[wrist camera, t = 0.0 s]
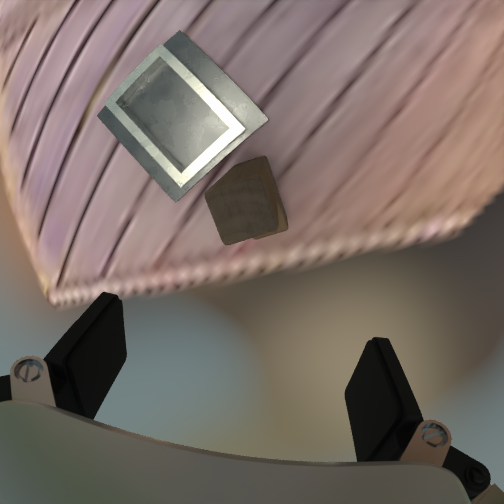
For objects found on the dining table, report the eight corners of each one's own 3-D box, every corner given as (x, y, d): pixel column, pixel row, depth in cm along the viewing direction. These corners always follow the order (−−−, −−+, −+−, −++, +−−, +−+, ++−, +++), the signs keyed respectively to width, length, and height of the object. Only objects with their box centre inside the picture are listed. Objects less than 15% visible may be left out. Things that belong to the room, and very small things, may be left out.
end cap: (181, 32, 33) (174, 24, 29) (268, 119, 37) (268, 118, 33) (100, 115, 37) (87, 115, 34) (177, 201, 41) (169, 207, 38)
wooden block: (287, 220, 41) (297, 283, 25) (255, 230, 42) (243, 298, 25) (265, 154, 38) (260, 172, 22) (232, 166, 39) (201, 193, 22)
